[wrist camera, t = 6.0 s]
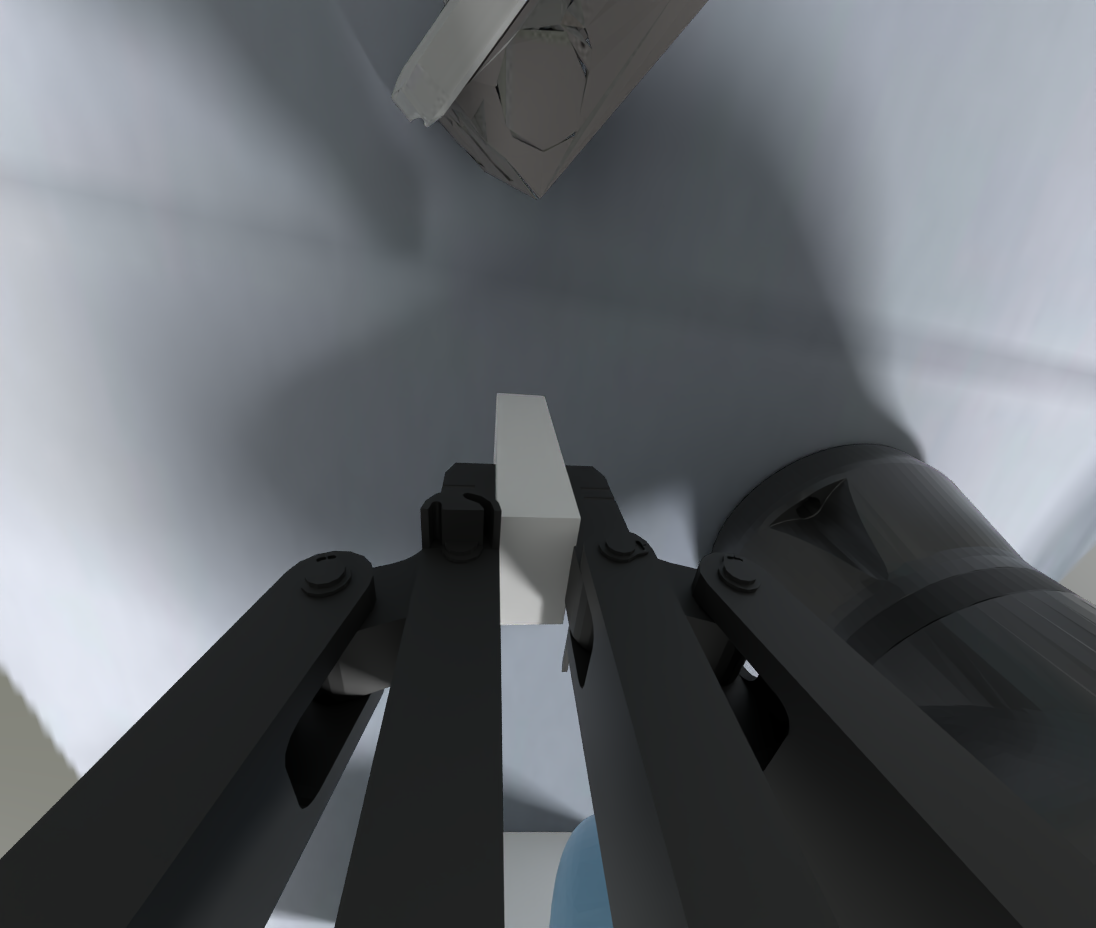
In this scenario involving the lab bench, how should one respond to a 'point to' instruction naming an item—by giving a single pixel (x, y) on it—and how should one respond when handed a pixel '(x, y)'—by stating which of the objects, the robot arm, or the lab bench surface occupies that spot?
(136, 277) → the lab bench surface
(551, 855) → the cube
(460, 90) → the electrical switch
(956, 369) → the lab bench surface
